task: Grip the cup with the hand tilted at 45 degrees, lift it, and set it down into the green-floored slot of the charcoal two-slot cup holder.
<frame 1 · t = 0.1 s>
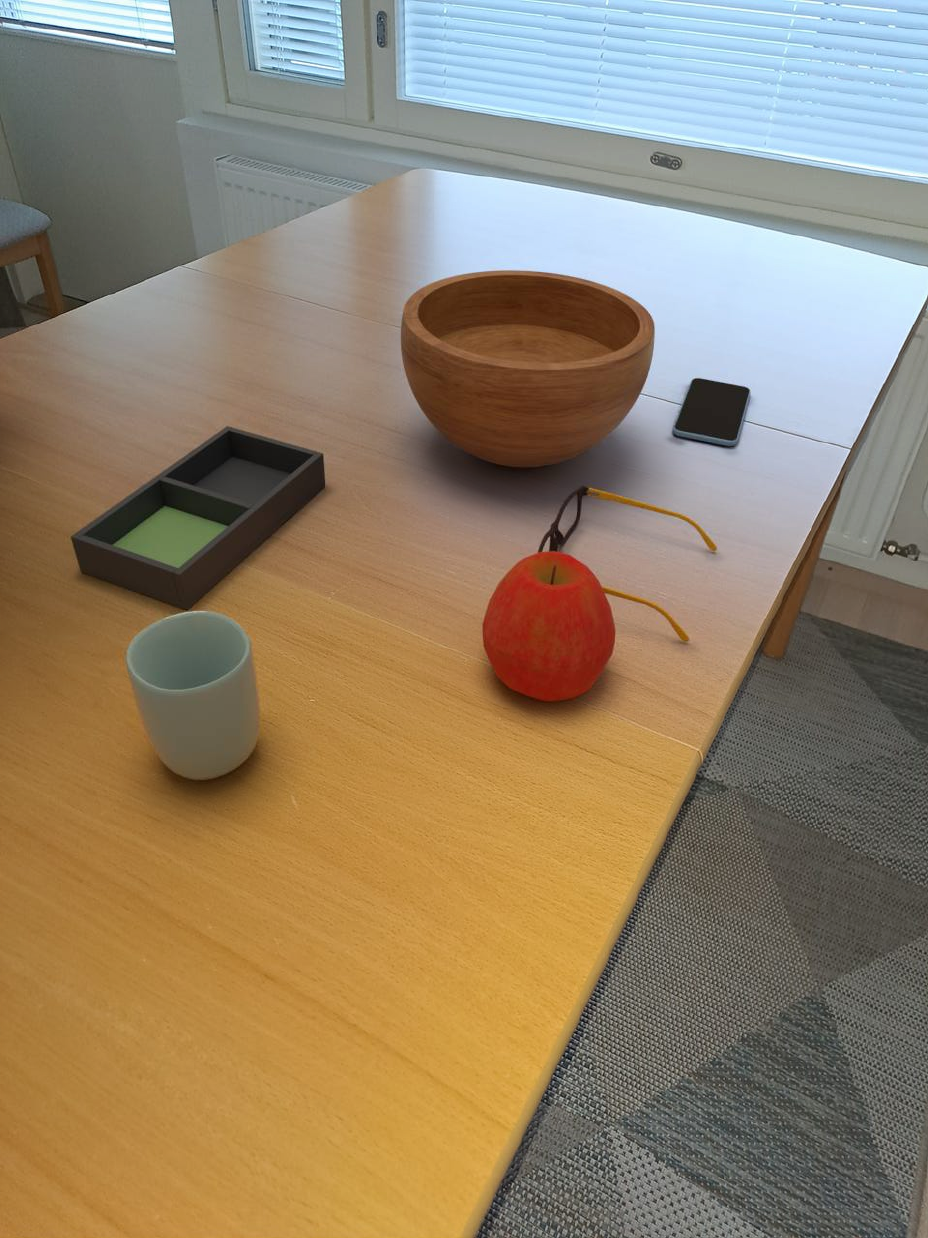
holder: (211, 526, 86), on the table
bowl: (516, 452, 99), on the table
eyeglasses: (623, 576, 83), on the table
apple: (543, 671, 73), on the table
cup: (210, 755, 65), on the table
smartphone: (711, 414, 107), on the table
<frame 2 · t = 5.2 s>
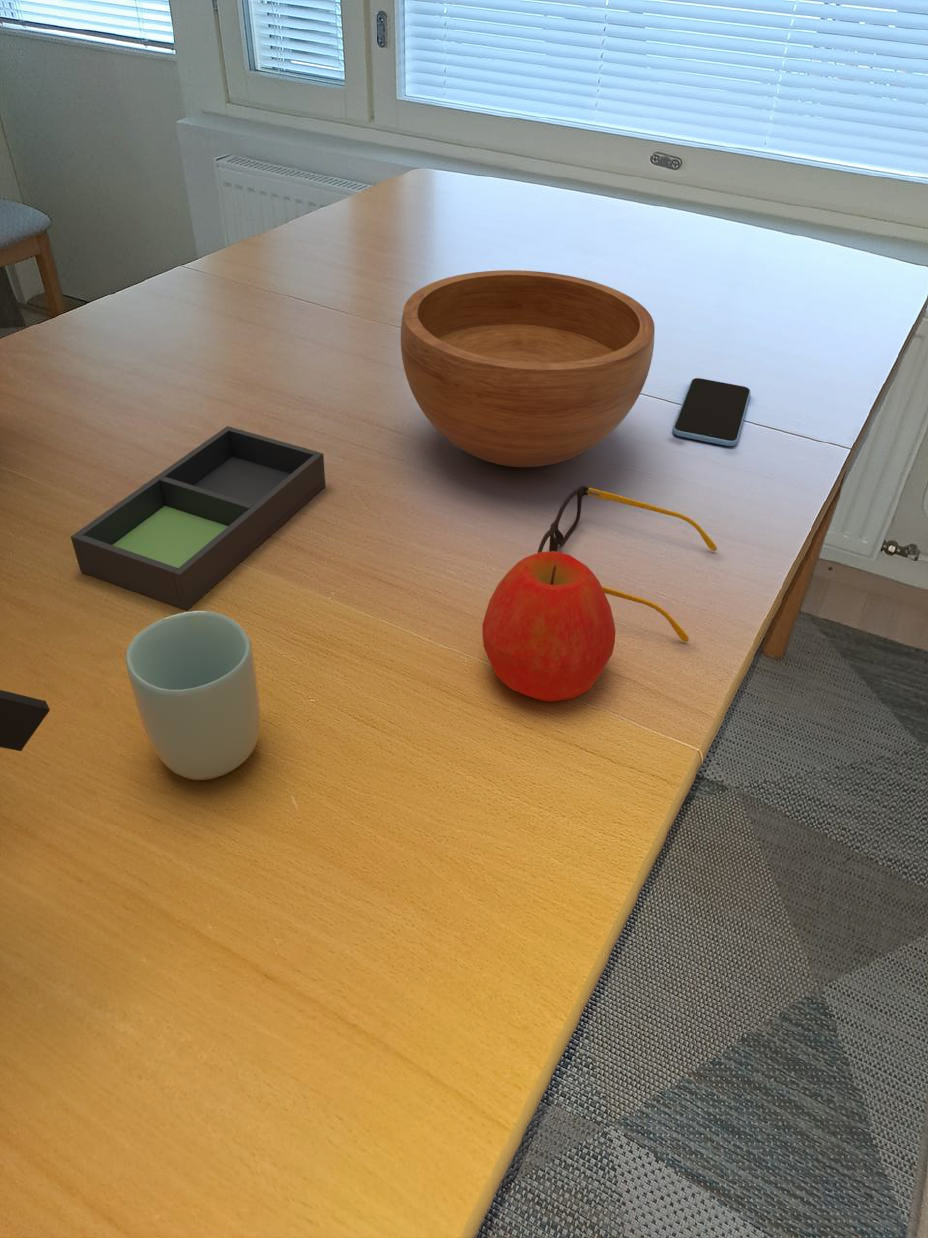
nothing on the table moved.
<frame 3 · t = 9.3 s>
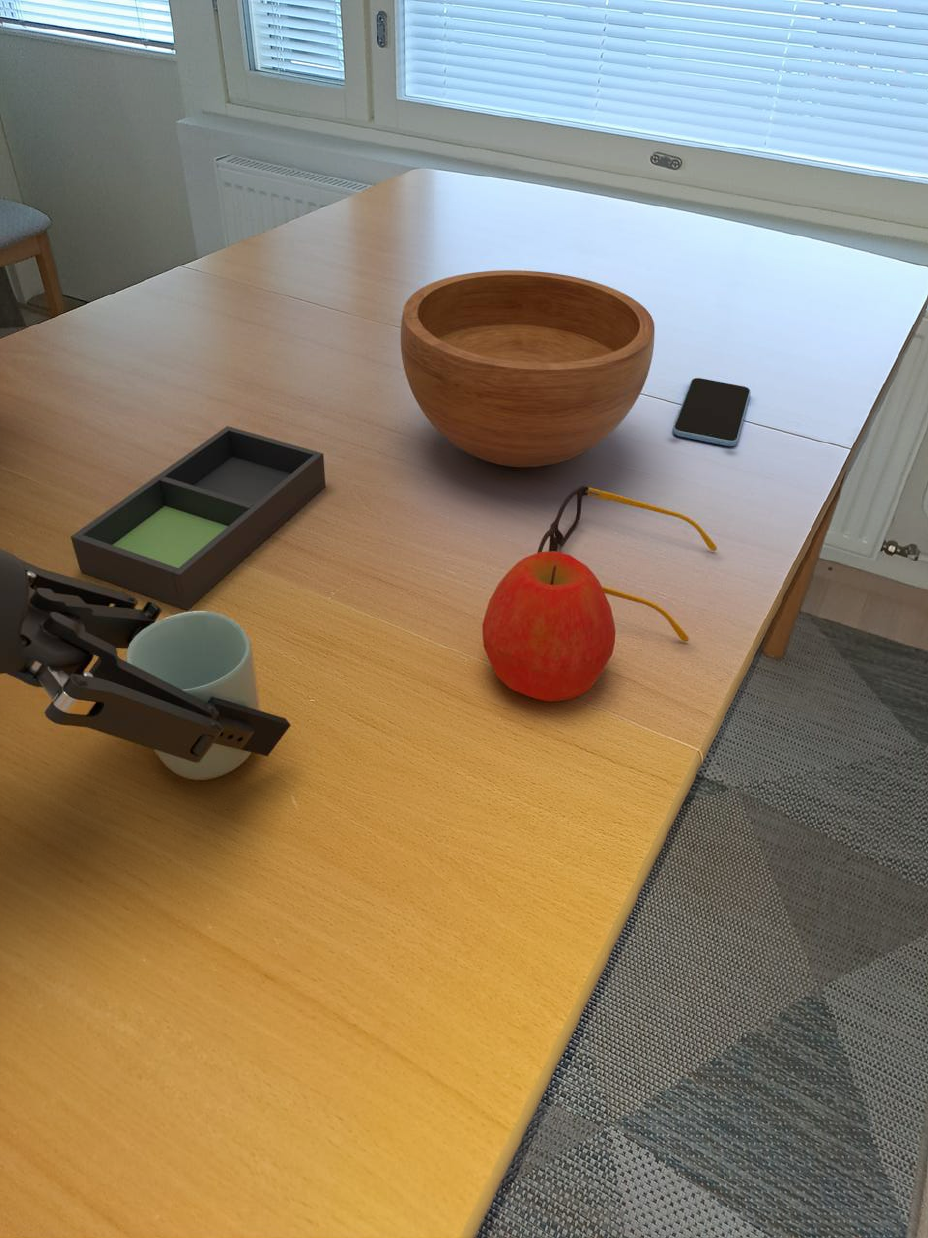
hand: (249, 699, 64), 4 cm above the table, tool tilted 45°, fingers closed on cup, 8 cm apart
cup: (210, 755, 65), on the table, touching gripper
everything else where it was.
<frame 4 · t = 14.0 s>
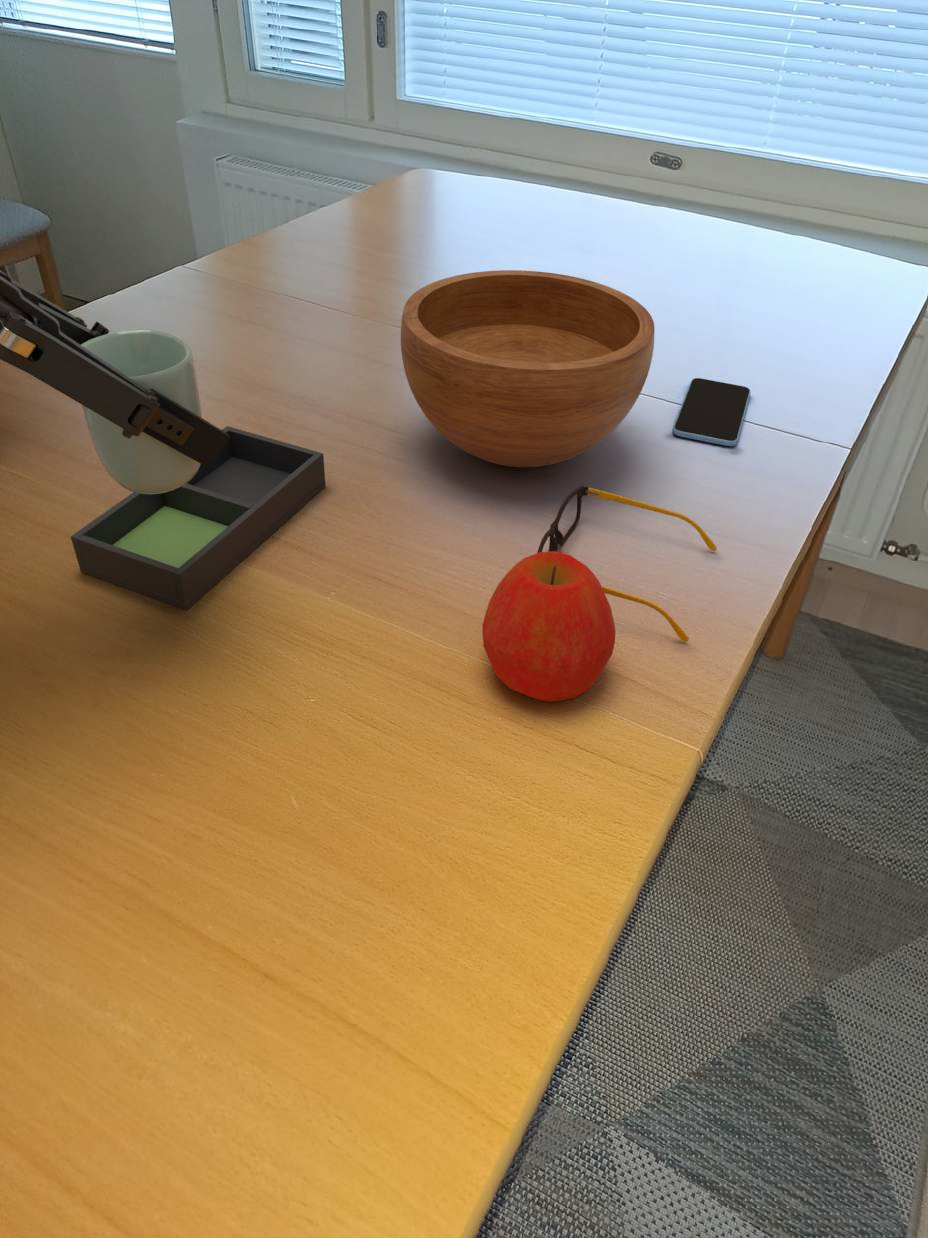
hand: (193, 424, 68), 16 cm above the table, tool tilted 45°, fingers closed on cup, 8 cm apart
cup: (157, 481, 68), point 12 cm above the table, touching gripper
everything else where it was.
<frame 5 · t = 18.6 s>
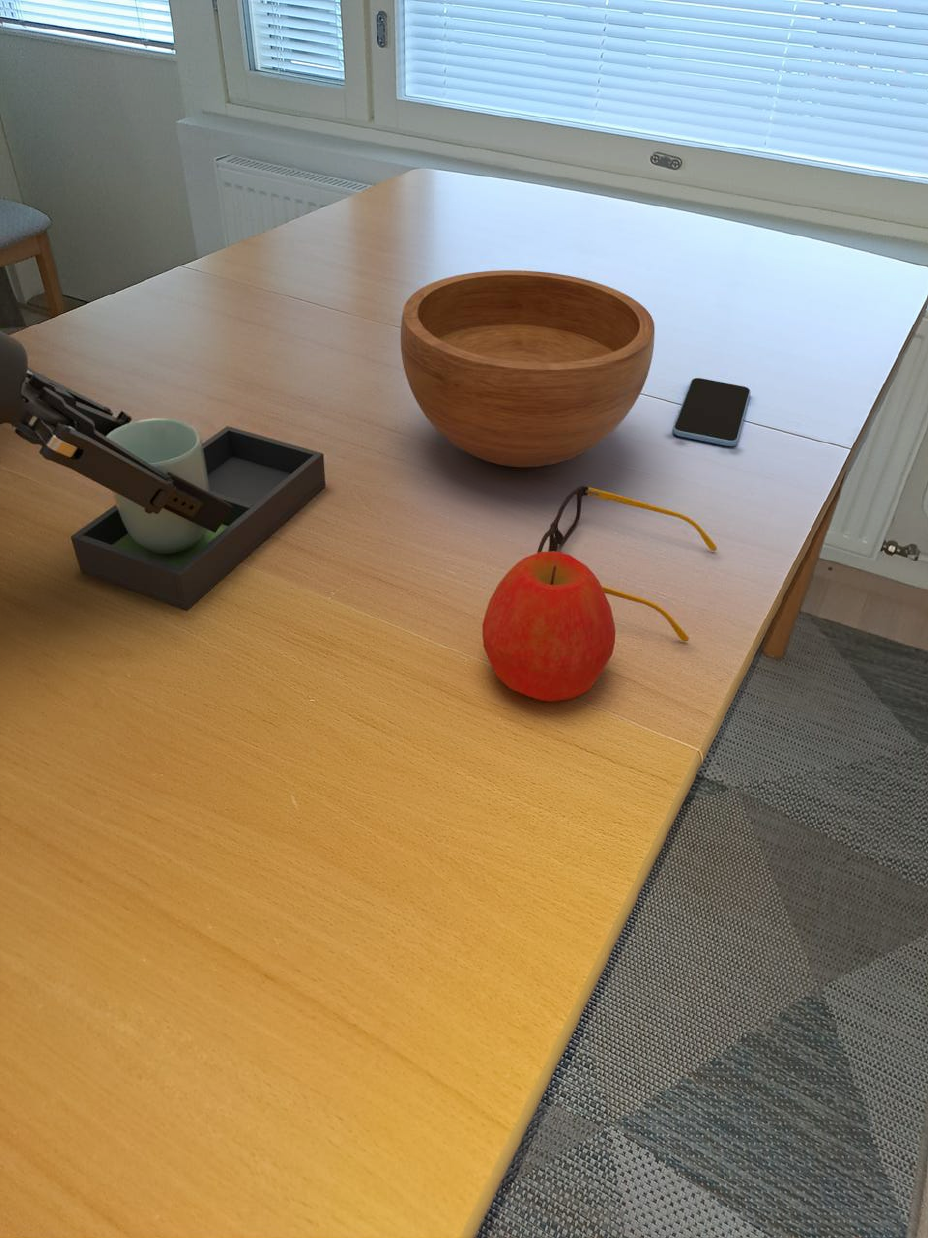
hand: (202, 494, 80), 5 cm above the table, tool tilted 45°, fingers closed on cup, 8 cm apart
cup: (172, 541, 81), point 1 cm above the table, touching gripper
everything else where it was.
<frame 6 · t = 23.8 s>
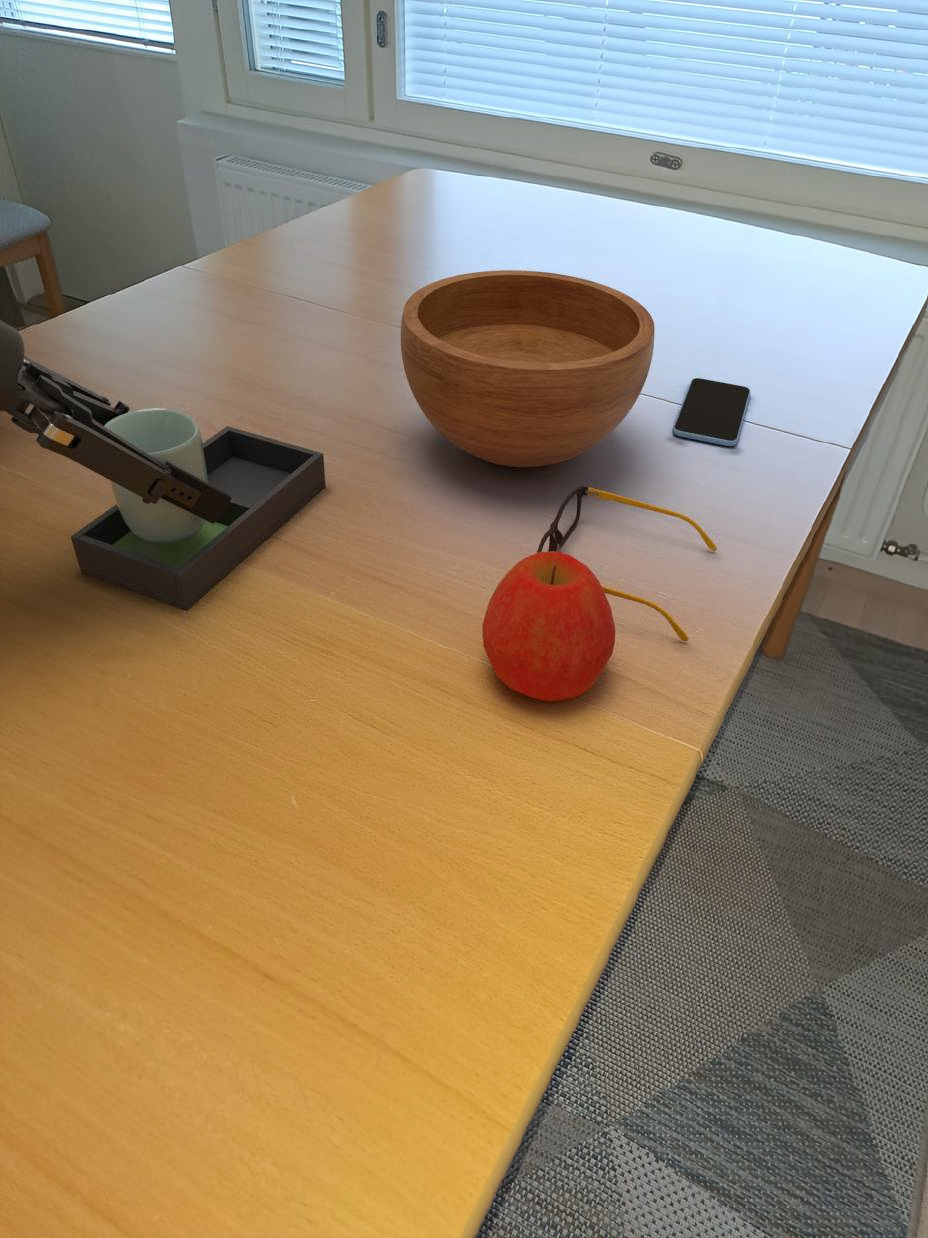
hand: (200, 485, 80), 6 cm above the table, tool tilted 45°, fingers closed on cup, 8 cm apart
cup: (170, 533, 81), point 2 cm above the table, touching gripper
everything else where it was.
when the fingers open (7 cm above the table, at t = 28.9 s): cup drops 2 cm, resting on holder.
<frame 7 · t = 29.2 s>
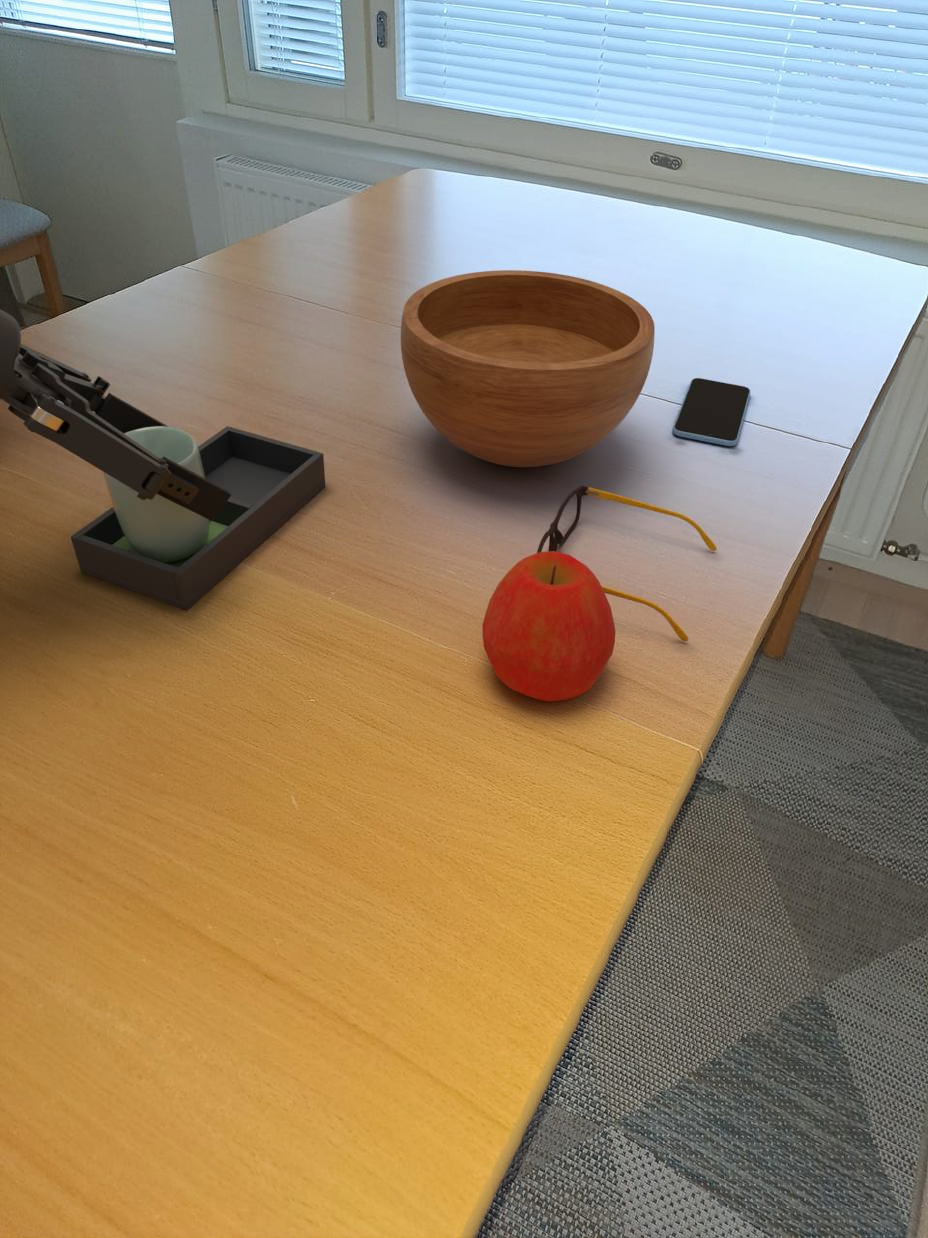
hand: (190, 472, 78), 8 cm above the table, tool tilted 45°, fingers open, 12 cm apart
cup: (173, 549, 81), point 1 cm above the table, touching holder
everything else where it was.
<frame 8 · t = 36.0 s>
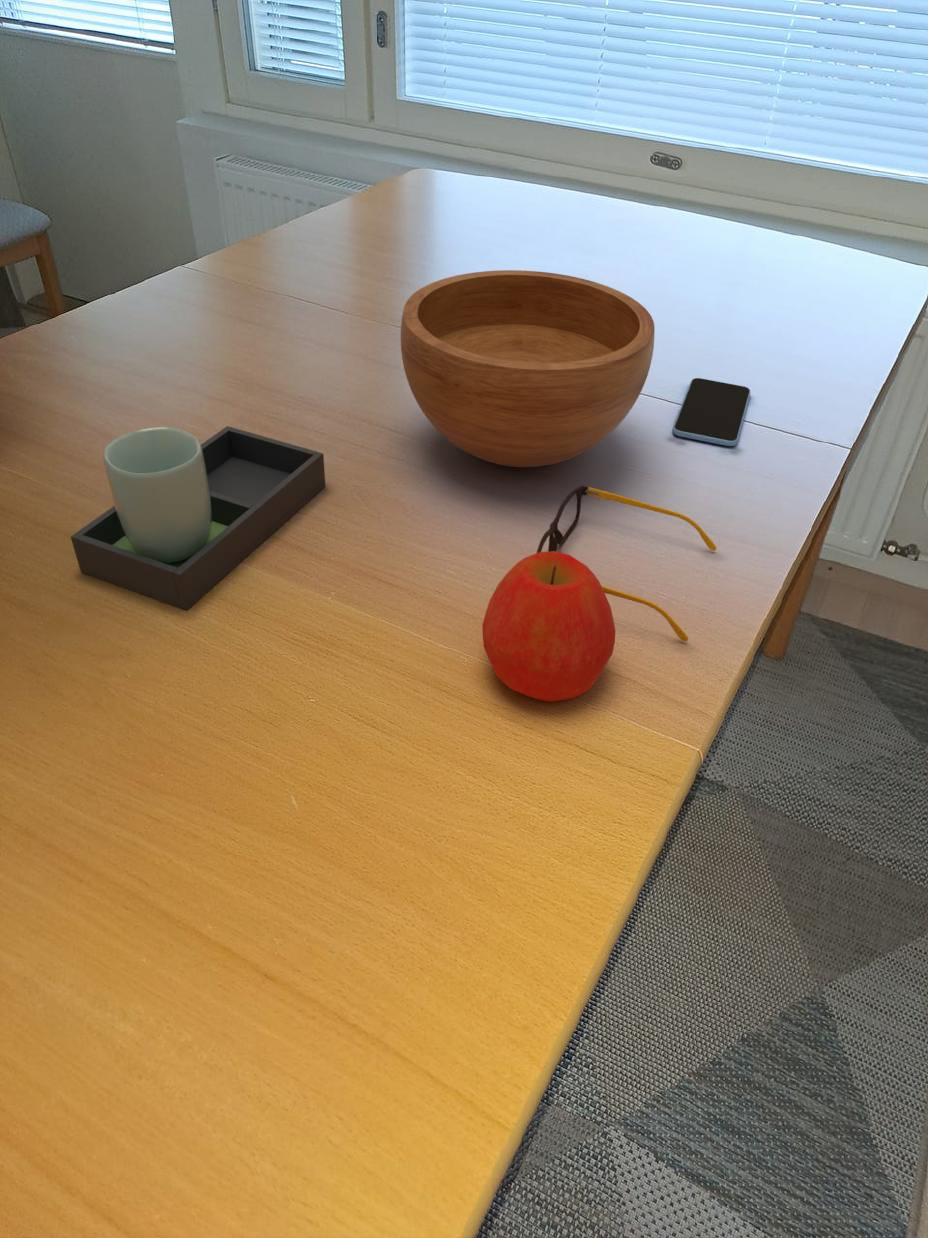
nothing on the table moved.
at the end: cup 0.3 cm from the target spot in the holder, point 0.8 cm above the holder's base; cup tilted 0°; the gripper is holding nothing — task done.
